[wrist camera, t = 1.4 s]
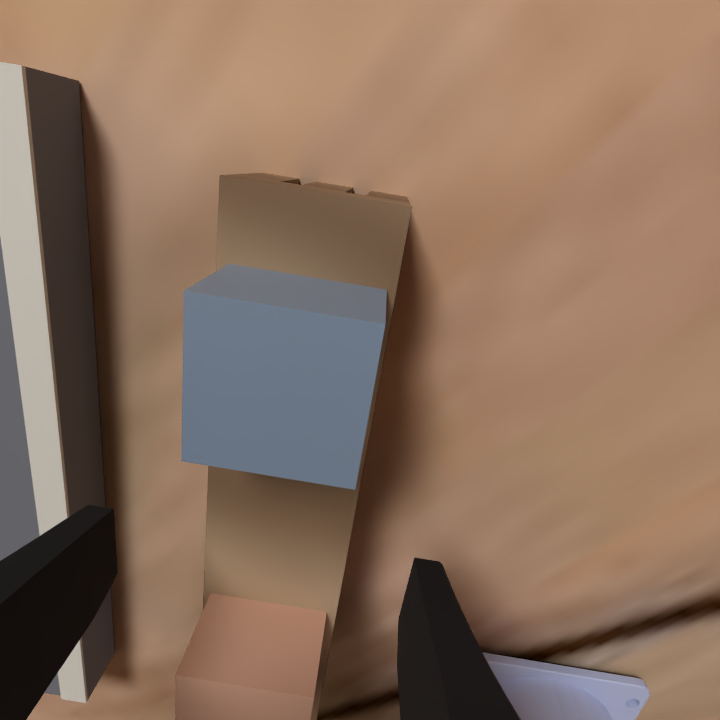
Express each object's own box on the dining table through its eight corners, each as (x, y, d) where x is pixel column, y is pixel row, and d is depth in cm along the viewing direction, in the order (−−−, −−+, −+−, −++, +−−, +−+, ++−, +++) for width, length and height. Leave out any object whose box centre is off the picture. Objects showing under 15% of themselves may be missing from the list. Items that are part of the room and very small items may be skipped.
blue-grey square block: (362, 426, 12) (354, 489, 10) (222, 403, 12) (181, 460, 10) (386, 289, 11) (385, 323, 8) (229, 263, 11) (183, 290, 8)
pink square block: (313, 689, 16) (300, 780, 13) (207, 671, 16) (175, 759, 13) (326, 612, 14) (314, 697, 12) (210, 592, 14) (175, 675, 12)
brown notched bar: (329, 621, 20) (315, 724, 16) (234, 605, 20) (199, 705, 16) (406, 195, 14) (412, 206, 10) (266, 172, 14) (219, 174, 10)
